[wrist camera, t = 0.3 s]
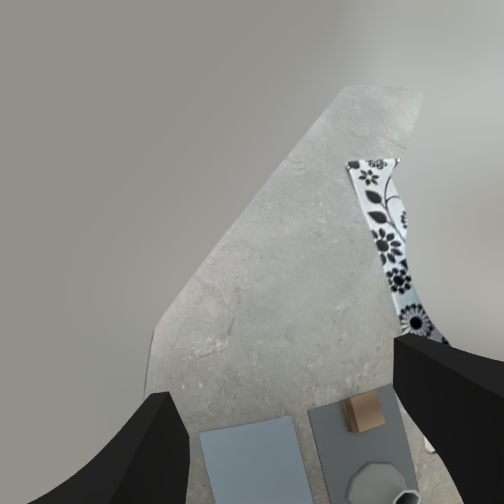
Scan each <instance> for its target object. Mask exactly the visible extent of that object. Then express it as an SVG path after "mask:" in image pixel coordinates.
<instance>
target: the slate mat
mask: <svg viewBox="0 0 504 504" xmlns="http://www.w3.org/2000/svg"><path fill="white" fill-rule="evenodd" d="M199 436H200V441H201V445H202V450H203V454H204V459H205V463H206V467H207V471H208V476H209V480H210V484H211V488H212V492H213V495H214V499H215V503H216V504H314V503H313V499H312V495H311V491H310V487H309V483H308V479H307V476H306V472H305V468H304V464H303V460H302V456H301V452H300V448H299V444H298V440H297V436H296V432H295V428H294V424H293V420H292V416H291V415H287V416H283V417H278V418H274V419H270V420H265V421H261V422H256V423H251V424H246V425H241V426H235V427H230V428H224V429H218V430H212V431H205V432H199Z"/></svg>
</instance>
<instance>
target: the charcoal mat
mask: <svg viewBox="0 0 504 504" xmlns="http://www.w3.org/2000/svg"><path fill="white" fill-rule="evenodd" d="M308 415H309V419H310V423H311V426H312V430H313V434H314V438H315V442H316V446H317V450H318V454H319V458H320V462H321V466H322V470H323V474H324V478H325V482H326V486H327V490H328V494H329V498H330V502H331V504H350V503H349V502H348V501H347V500H346V499H345V498H346V495H347V491H348V487H349V484H350V480H351V478H352V477H353V476H354V475H355V474H356V473H357V472H358V471H359V470H360V469H361V468H363V467H364V466H365V465H366V464H367V463H368V462H386V463H391V464H392V465H393V466H394V467H395V468H396V469H397V470H398V471H399V472H400V473H402V474H403V475H404V479H405V484H406V487H407V490H408V489H415V490H416V491H417V492H418V493H419V489H418V484H417V480H416V475H415V470H414V466H413V461H412V457H411V453H410V449H409V445H408V440H407V436H406V433H405V429H404V425H403V421H402V417H401V414H400V410H399V406H398V403H397V399H396V396H395V392H394V389H393V385H392V383H391V384H389V385H386V386H383V387H380V388H378V389H375V390H372V391H369V392H366V393H364V394H361V395H358V396H355V397H352V398H349V399H345V400H342V401H339V402H336V403H333V404H329V405H326V406H322V407H319V408H315V409H312V410H308Z"/></svg>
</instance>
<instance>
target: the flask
mask: <svg viewBox="0 0 504 504" xmlns="http://www.w3.org/2000/svg"><path fill="white" fill-rule="evenodd" d="M345 499H346V500H347V501H348V502H349V503H350V504H421V500H422V495H421V494H419V493H418V492H417V491H416V490H415V489H408V490H407V487H406V484H405V479H404V475H403V474H402V473H400V472H399V471H398V470H397V469H396V468H395V467H394V466H393V465H392V464H391V463H386V462H368V463H367V464H366V465H365V466H364V467H363V468H361V469H360V470H359V471H358V472H357V473H356V474H355V475H354V476H353V477H352V478H351V480H350V484H349V487H348V491H347V495H346V498H345Z"/></svg>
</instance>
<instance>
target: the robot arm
mask: <svg viewBox="0 0 504 504" xmlns="http://www.w3.org/2000/svg"><path fill="white" fill-rule="evenodd" d="M393 388H394V390H395V392H396V394H397V396H398V398H399V400H400V401H401V403H402V405H403V407H404V409H405V410H406V411H407V413H408V414H409V416H410V417H411V418H412V420H413V421H414V422H415V424H416V425H417V426H418V428H419V429H420V430H421V432H422V433H423V434H424V436H425V437H426V438H427V440H428V441H429V442H430V444H431V445H432V446H433V448H434V449H435V450H436V452H437V453H438V455H439V456H440V458H441V459H442V461H443V463H444V464H445V466H446V468H447V470H448V472H449V474H450V476H451V477H452V479H453V481H454V483H455V485H456V487H457V490H458V492H459V494H460V496H461V498H462V500H463V503H464V504H504V362H502V361H498V360H493V359H489V358H486V357H482V356H478V355H475V354H472V353H468V352H465V351H462V350H459V349H456V348H453V347H450V346H448V345H445V344H442V343H439V342H436V341H434V340H431V339H428V338H425V337H422V336H419V335H416V334H413V333H408V334H405V335H402V336H399V337H396V338H394V366H393ZM189 466H190V446H189V435H188V432H187V430H186V428H185V426H184V424H183V422H182V420H181V417H180V415H179V413H178V411H177V409H176V406H175V404H174V402H173V400H172V397H171V395H170V393H169V391H168V392H161V393H153V394H150V395H149V397H148V398H147V399H146V400H145V401H144V402H143V404H142V405H141V406H140V407H139V408H138V410H137V411H136V412H135V413H134V414H133V416H132V417H131V418H130V419H129V420H128V422H127V423H126V424H125V425H124V426H123V427H122V429H121V430H120V431H119V432H118V433H117V434H116V435H115V437H114V438H113V439H112V440H111V441H110V442H109V443H108V444H107V445H106V446H105V447H104V448H103V449H102V450H101V451H100V452H99V453H98V454H97V455H96V456H95V457H94V458H93V459H92V460H91V461H90V462H89V463H88V464H86V465H85V466H84V467H83V468H82V469H80V470H79V471H78V472H77V473H76V474H75V475H73V476H72V477H70V478H69V479H68V480H66V481H65V482H63V483H62V484H60V485H59V486H57V487H56V488H54V489H53V490H51V491H50V492H48V493H47V494H45V495H43V496H41V497H39V498H38V499H36V500H34V501H32V502H30V503H28V504H185V502H186V493H187V484H188V475H189Z"/></svg>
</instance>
